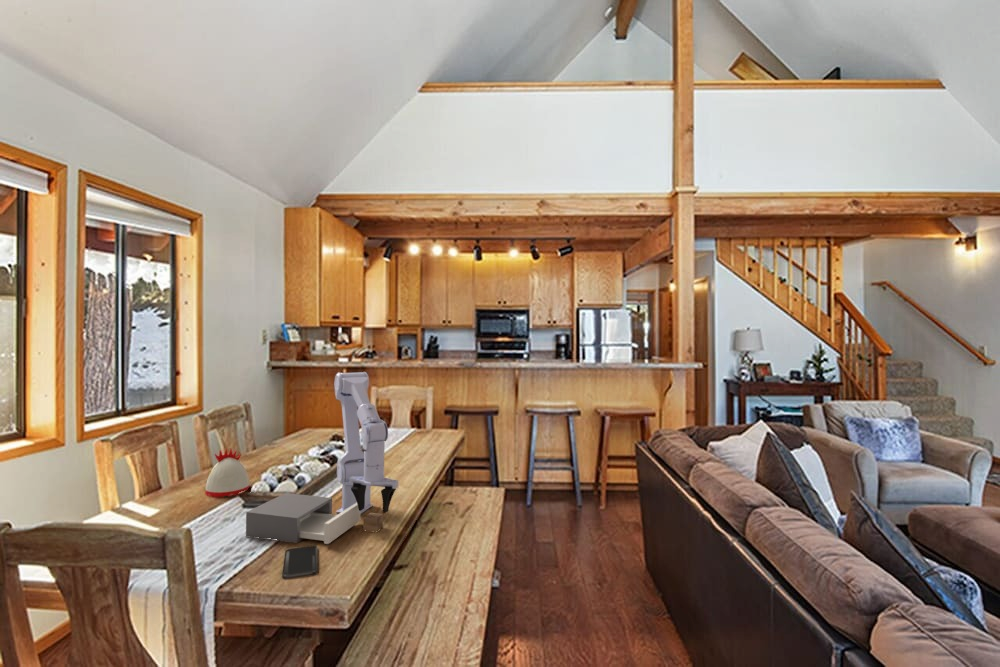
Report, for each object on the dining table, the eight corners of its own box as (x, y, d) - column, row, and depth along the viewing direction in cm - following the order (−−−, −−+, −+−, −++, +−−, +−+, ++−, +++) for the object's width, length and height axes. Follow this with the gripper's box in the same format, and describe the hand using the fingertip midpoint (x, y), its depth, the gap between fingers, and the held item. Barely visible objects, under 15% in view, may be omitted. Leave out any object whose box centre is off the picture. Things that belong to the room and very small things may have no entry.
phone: (281, 576, 117) (285, 549, 131) (281, 581, 117) (285, 553, 131) (318, 571, 120) (317, 545, 134) (318, 575, 120) (317, 549, 134)
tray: (360, 520, 151) (360, 502, 151) (328, 544, 134) (328, 523, 134) (312, 515, 155) (313, 497, 155) (276, 537, 138) (276, 517, 138)
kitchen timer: (205, 487, 182) (206, 446, 181) (248, 482, 188) (248, 442, 188) (205, 499, 169) (205, 454, 169) (250, 493, 176) (251, 450, 176)
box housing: (331, 520, 153) (332, 497, 153) (296, 543, 137) (297, 518, 137) (285, 514, 157) (285, 493, 157) (245, 536, 140) (246, 512, 140)
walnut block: (370, 526, 150) (370, 512, 150) (382, 527, 149) (382, 514, 149) (363, 531, 146) (363, 517, 146) (376, 532, 145) (376, 518, 145)
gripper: (344, 465, 145) (343, 513, 145) (391, 469, 142) (390, 518, 142) (356, 459, 152) (356, 504, 152) (401, 463, 148) (401, 509, 148)
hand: (373, 510), depth 147 cm, fingers open, 7 cm apart
